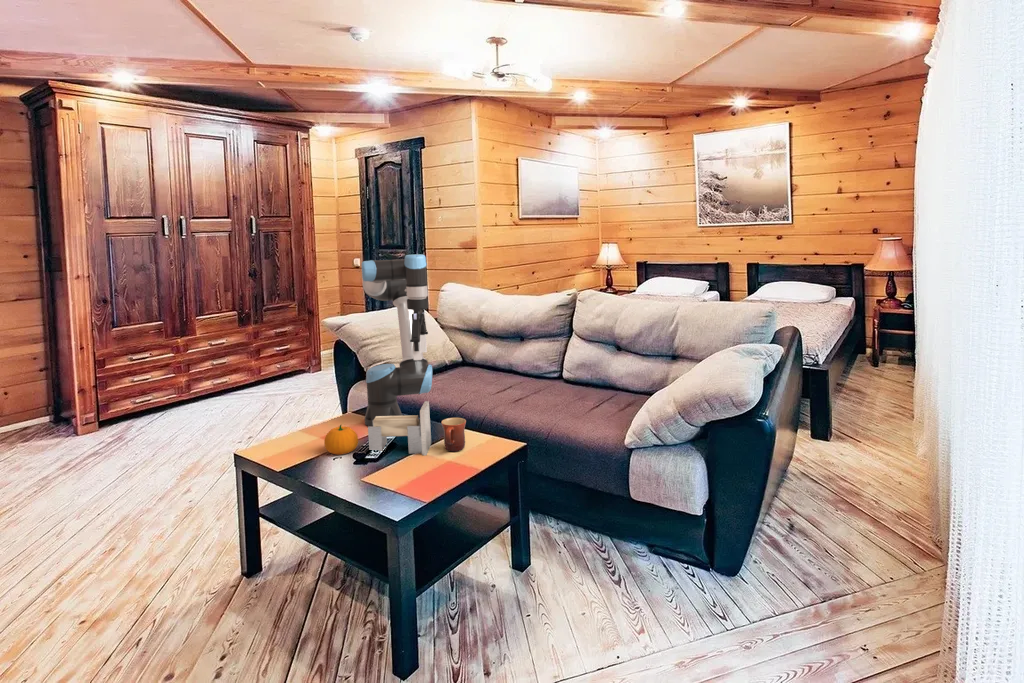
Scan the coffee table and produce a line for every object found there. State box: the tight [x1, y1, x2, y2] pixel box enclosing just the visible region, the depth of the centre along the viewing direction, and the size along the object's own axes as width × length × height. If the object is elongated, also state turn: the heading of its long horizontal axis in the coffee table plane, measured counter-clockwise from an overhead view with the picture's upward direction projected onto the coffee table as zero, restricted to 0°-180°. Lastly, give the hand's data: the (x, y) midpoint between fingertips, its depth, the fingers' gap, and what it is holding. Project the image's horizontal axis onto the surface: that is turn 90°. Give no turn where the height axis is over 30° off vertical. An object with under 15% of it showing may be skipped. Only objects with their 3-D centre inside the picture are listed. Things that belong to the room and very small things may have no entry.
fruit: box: [323, 424, 359, 456], centre depth 218 cm, size 12×12×10 cm
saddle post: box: [367, 423, 388, 452], centre depth 218 cm, size 8×4×10 cm, turn 0°
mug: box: [441, 417, 467, 453], centre depth 216 cm, size 12×9×10 cm
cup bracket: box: [407, 400, 432, 456], centre depth 217 cm, size 12×6×16 cm, turn 0°
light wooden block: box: [373, 414, 419, 437], centre depth 217 cm, size 4×15×6 cm, turn 90°
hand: (420, 356), depth 224 cm, fingers open, 13 cm apart
